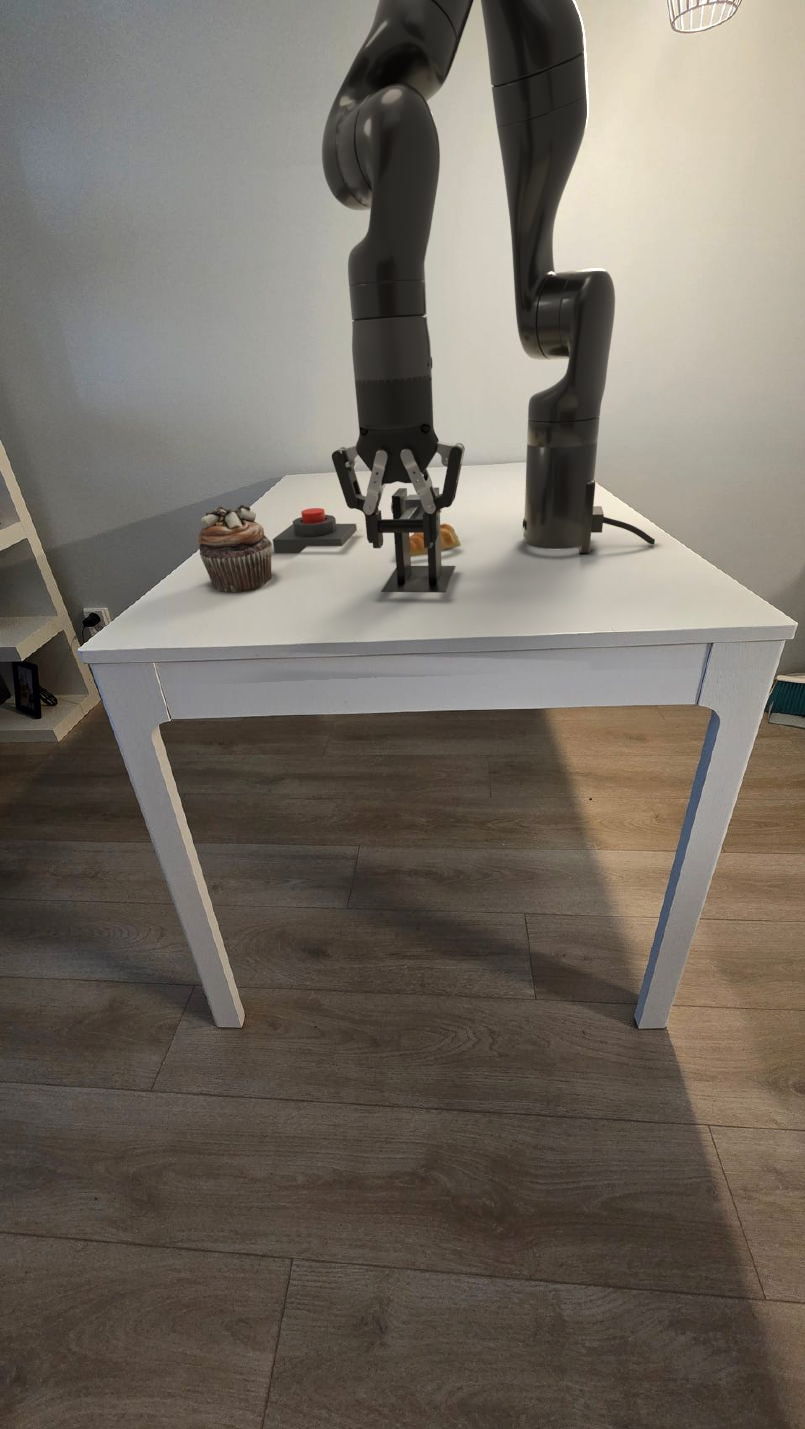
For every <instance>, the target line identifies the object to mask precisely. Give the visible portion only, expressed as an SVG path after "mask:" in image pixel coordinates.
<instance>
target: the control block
mask: <svg viewBox="0 0 805 1429" xmlns="http://www.w3.org/2000/svg"><path fill="white" fill-rule="evenodd" d="M325 519H326V521H322V522H317V523H303V522H302V516H301V517H297V518H295V519H294V520H292V524H290V526H288V527H287V528H285V529H284V530H282V532H280V533H278V535H276V536H275V537H274V538H272V547H273V552H274V553H275V554H300V553H302V551H304V550H305V549H306V548H307V547H343V546H344V545H345V544H346V542H347V541H349V539H351V537H352V536H353V535H354V534H355V533H356V532H357V530H358V529H357V528H358V527H357V523H337V520H336V517H335V516H334V515H330V514H325Z"/></svg>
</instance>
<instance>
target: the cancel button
mask: <svg viewBox="0 0 805 1429" xmlns="http://www.w3.org/2000/svg"><path fill="white" fill-rule="evenodd" d="M300 515H301V517H302V522H303V523H317V522H322V521H326V519H325V515H326V513H325V509H324V508H320V507H312V508H306V509H302V510H301V512H300Z"/></svg>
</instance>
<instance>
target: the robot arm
mask: <svg viewBox="0 0 805 1429" xmlns="http://www.w3.org/2000/svg"><path fill="white" fill-rule="evenodd" d="M474 1H475V0H378V4H377V6H376V11H375V14H374V17H373V22H372V25H371V27H370V30H369V32H368V34H367V35H366V38H365V39H364V41H363V43H362V44H361V47H360V48H359V50H358V51H357V54H356V56H355V57H354V58H353V61H352V63H351V65H350V67H349V68H348V71H347V74H346V76H345V77H344V79H343V81H342V83H341V85H340V87H339V89H338V92H337V94H336V96H335V98H334V100H333V102H332V105H331V107H330V110H329V113H328V115H327V119H326V122H325V125H324V130H323V135H322V144H321V162H322V163H321V165H322V170H323V175H324V179H325V181H326V184H327V186H328V188H329V190H330V192H331V194H332V196H333V197H334V198H335V199H336V200H337V202H339V203H340V204H341V205H342V206H344V207H346V208H348V209H350V210H353V211H369V210H370V211H369V212H370V214H369V221H368V228H367V231H366V234H365V235H364V237H363V238H362V239H361V240H360V241H359V242H358V243H357V244H356V245H354V246H353V248H352V249H351V250H350V252H349V255H348V261H347V279H348V280H347V281H348V289H349V291H348V292H349V301H350V302H349V304H350V313H351V320H352V322H351V325H352V329H351V330H352V332H351V333H352V334H351V354H352V365H353V367H352V368H353V377H354V388H355V399H356V411H357V421H358V434H359V435H358V438H357V441H356V444H355V445H353V446H352V445H351V446H349V447H345V446H341V447H340V448H338V449H337V450H334V451H333V452H332V453H331V461H332V463H333V466H334V470H335V473H336V476H337V479H338V482H339V486H340V488H341V492H342V495H343V497H344V501H345V504H346V506H347V507H348V509H350V510H351V509H352V510H354V509H355V510H358V511H361V512H362V513H363V515H364V521H365V529H366V530H365V531H366V532H365V533H366V540H367V542H368V544H372V548H373V549H381V548H382V547H383V545H384V533H379V530H378V522H379V520H380V519H383V518H382V510H381V509H380V510H379V507H380V503H381V500H382V497H383V493H384V490H385V488H386V485H390V484H394V483H401V484H412V487H413V488H414V491H415V494H418V495H419V498H420V500H421V502H422V505H423V507H424V510H425V512H424V513H423V515H422V516H423V537H424V548H431V547H432V545H433V543H435V542H436V540H437V538H438V535H439V526H438V510H440V509H442V510H443V509H444V508H450V507H451V506H452V504H453V503H454V501H455V499H456V495H457V491H458V485H459V480H460V475H461V470H462V465H463V461H464V456H465V451H466V449H465V446H464V444H463V443H460V442H458V443H454V444H453V443H448V442H443V441H440V439H439V437H438V436H437V434H436V432H435V428H434V405H433V404H434V402H433V375H432V374H433V372H432V370H433V357H432V348H431V347H432V346H431V336H430V332H429V325H428V316H427V314H428V313H427V312H428V311H427V309H428V308H427V285H426V269H425V268H426V266H425V265H426V264H425V263H426V256H427V251H428V246H429V241H430V236H431V230H432V224H433V216H434V210H435V205H436V198H437V191H438V186H439V178H440V167H441V149H440V139H439V133H438V128H437V124H436V121H435V117H434V115H433V112H432V109H431V108H430V105H429V103H428V101H429V100H430V99H432V98H433V97H434V96H435V95H436V94H437V93H438V92H440V90H442V88H443V86H444V84H445V83H446V81H447V79H448V78H449V75H450V73H451V70H452V67H453V64H454V62H455V59H456V57H457V56H456V55H457V53H458V51H459V47H460V44H461V41H462V38H463V35H464V32H465V29H466V26H467V24H468V20H469V17H470V16H469V15H471V14H470V13H471V10H472V7H473V4H474ZM480 6H481V12H482V13H481V14H482V19H483V26H484V32H485V33H484V34H485V40H486V47H487V58H488V66H489V67H488V68H489V78H490V85H491V94H492V102H493V109H494V118H495V124H496V130H497V137H498V143H499V149H500V155H501V161H502V168H503V175H504V176H503V177H504V184H505V191H506V200H507V208H508V209H507V210H508V217H509V227H510V239H511V240H510V241H511V252H512V271H513V286H514V287H513V289H514V303H515V317H516V325H517V333H518V337H519V341H520V345H521V347H522V349H523V351H524V353H525V354H526V355H527V357H529V358H531V359H532V360H540V361H541V360H542V361H543V360H546V361H547V360H548V361H550V360H568V362H567V368H566V371H565V374H564V376H563V377H562V378H561V379H560V380H558V381H557V382H556V383H554V384H553V385H552V386H550V387H548V388H546V389H543V390H541V391H538V392H536V393H534V394H533V395H532V396H530V398H529V401H528V405H527V434H526V435H527V437H526V459H525V460H526V462H525V464H526V465H525V488H524V490H525V491H524V516H523V519H522V520H523V521H522V531H523V539H522V543H523V544H524V545H525V546H528V547H531V548H534V549H540V550H550V551H558V550H559V551H561V550H562V551H563V550H573V549H577V548H578V554H589V553H590V552H591V551H590V550H591V537H592V534H595V533H597V534H602V533H603V528H604V524H606V525H609V526H613V527H616V528H620V529H623V530H626V531H629V532H630V533H633V534H634V535H636V536H638V537H639V538H641V539H642V540H643V541H645V542H646V543H647V544H650V545H652V546H653V545H655V543H656V539H655V538H654V537H652V536H650V535H649V534H648V533H646V532H645V531H643V529H640V528H638V527H637V526H634V525H633V524H630V523H627V522H624V521H621V520H617V519H614V518H610V517H607V516H605V514H604V510H603V507H602V505H601V506H600V505H595V493H596V480H595V475H596V465H597V455H598V453H597V452H598V444H599V442H598V441H599V430H600V418H601V417H600V416H601V408H602V402H603V399H604V394H605V389H606V383H607V376H608V375H607V374H608V365H609V359H610V350H611V346H612V345H611V344H612V338H613V332H614V331H613V330H614V321H615V314H616V290H615V285H614V281H613V279H612V276H611V274H610V273H609V272H608V271H607V270H606V269H604V268H601V267H595V268H594V267H593V268H584V269H576V270H567V271H559V272H556V271H555V265H554V264H555V263H554V262H555V261H554V229H555V223H556V222H555V221H556V218H557V214H558V211H559V206H560V203H561V200H562V197H563V194H564V191H565V189H566V186H567V184H568V181H569V179H570V176H571V173H572V172H573V169H574V165H575V163H576V160H577V157H578V155H579V152H580V148H581V147H582V146H581V145H582V143H583V139H584V136H585V133H586V129H587V125H588V118H589V93H588V92H589V87H588V86H589V85H588V72H587V71H588V69H587V68H588V67H587V52H586V37H585V29H584V24H583V20H582V17H581V14H580V10H579V9H578V6H577V3H576V1H575V0H480ZM436 454H439V455H440V460H441V462H440V463H441V465H442V466H443V467H446V471H445V476H444V480H443V481H444V482H443V488H442V493H439V495H436V493H435V491H434V485H433V481H432V477H431V475H430V473H429V470H428V467H429V466H430V463H432V460H433V459H434V457H435V456H436ZM358 457H359V458H360V459H361V460H362V462H363V464H364V465H365V466H366V467H367V469H368V470H369V471H370V472H371V473H370V477H369V480H368V484H367V489H366V495H363V493H362V491H361V487H360V483H359V481H358V477H357V475H356V471H355V468H356V467H357V466H358V460H357V459H358ZM594 505H595V506H594Z"/></svg>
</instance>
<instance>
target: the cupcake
mask: <svg viewBox="0 0 805 1429" xmlns="http://www.w3.org/2000/svg"><path fill="white" fill-rule="evenodd" d="M256 518H257V512H255V511H254V510H252V509H251V508H250V506H247V505H244V504H240V505H239V506H238V507H237V508H236V509H231V508H229V509H226V508H224V507H223V506H218V507H216V508H214V509H213V510H212V511H211V512H210V511H209V512H206V513H205V515H204V516H203V517H201V518H200V524H201V527H202V528H201V529H200V532H199V534H198V539H197V545H199V547H198V548H199V556H200V558H201V561H202V563H203V565H204V567H205V569H206V572H207V574H208V577H209V579H210V581H211V584H212V586H213V588H214V589H215V590H217V591H219V592H222V593H244V592H250V591H254V590H258V589H261V588H262V587H264V586H265V585H266V584H267V583H269V582H270V581H271V580H272V557H273V556H272V555H273V542H272V541H271V540H270V539H269V538H268V537H267V536H266V535H265V530H264V527H263V526H262V525H261V524H260V523H258V522H257V521H256Z"/></svg>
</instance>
